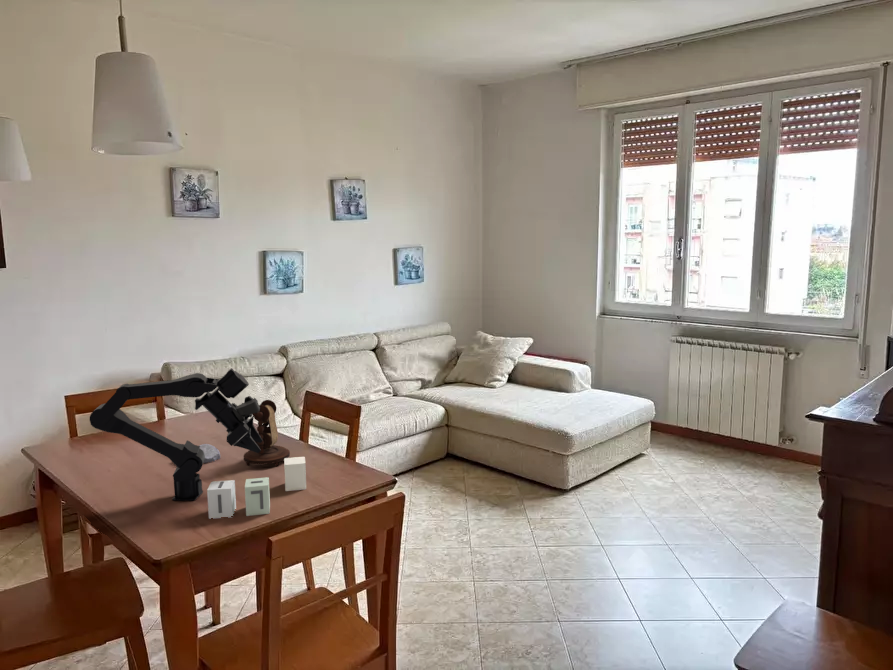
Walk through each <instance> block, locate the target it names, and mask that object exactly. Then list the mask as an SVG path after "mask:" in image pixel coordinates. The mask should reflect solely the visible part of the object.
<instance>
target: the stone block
mask: <svg viewBox="0 0 893 670" xmlns="http://www.w3.org/2000/svg"><path fill="white" fill-rule="evenodd" d="M198 446H200V449H201V450H203V452H204V455H205V460H204V462H203V463H204V464H208V462H209V463H213V462H216V461H218V460H220V459H221V453H220V450H219V449H218V448H217V447H215V445H212V444H209V443H203V444H200V445H198ZM217 459H218V460H217ZM215 460H216V461H215ZM212 461H213V462H212Z"/></svg>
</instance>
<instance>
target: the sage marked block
mask: <svg viewBox="0 0 893 670" xmlns="http://www.w3.org/2000/svg"><path fill="white" fill-rule="evenodd" d="M270 497H271V496H270V478H269V476H268V477H267V476H266V477H257V478H246V479H245V484H244V498H245V499H244V500H245V515H246V517H249V516H259V515H268V514H270V513H271V512H270V511H271V500H270V499H271V498H270Z"/></svg>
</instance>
